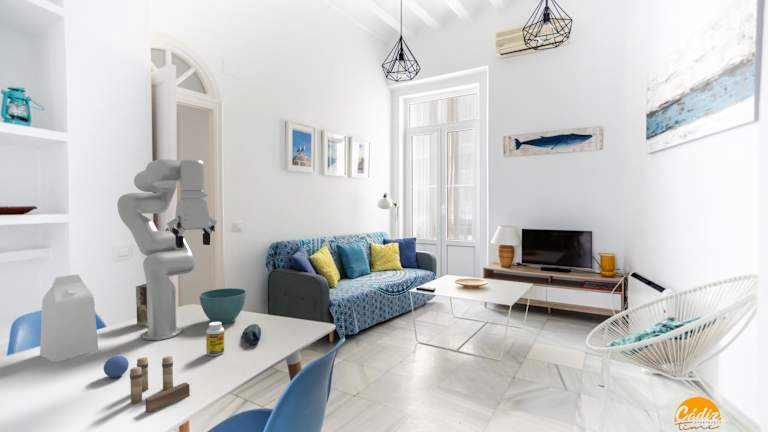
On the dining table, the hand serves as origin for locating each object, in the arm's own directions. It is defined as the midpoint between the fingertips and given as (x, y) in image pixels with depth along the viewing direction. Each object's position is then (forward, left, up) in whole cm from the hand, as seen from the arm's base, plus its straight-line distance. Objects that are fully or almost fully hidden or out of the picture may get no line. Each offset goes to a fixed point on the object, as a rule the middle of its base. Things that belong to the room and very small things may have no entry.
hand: (193, 246), depth 132 cm
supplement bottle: (+9, +1, -36) cm, 37 cm away
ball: (0, -25, -33) cm, 41 cm away
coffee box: (-42, +6, -36) cm, 55 cm away
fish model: (+7, +18, -36) cm, 41 cm away
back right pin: (+20, -29, -36) cm, 50 cm away
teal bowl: (-19, +24, -36) cm, 47 cm away
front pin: (+15, -25, -36) cm, 46 cm away
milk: (-33, -25, -36) cm, 54 cm away
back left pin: (+20, -21, -36) cm, 46 cm away
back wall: (+28, -25, -36) cm, 52 cm away
